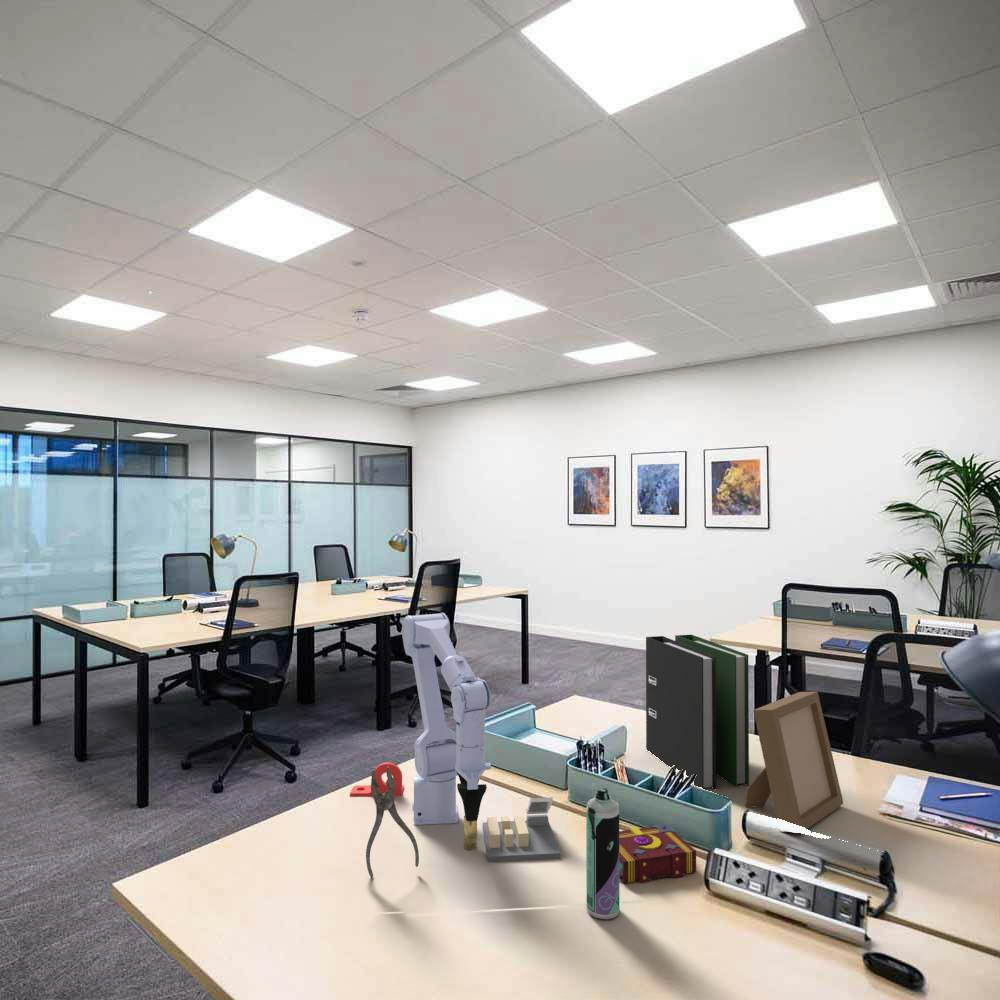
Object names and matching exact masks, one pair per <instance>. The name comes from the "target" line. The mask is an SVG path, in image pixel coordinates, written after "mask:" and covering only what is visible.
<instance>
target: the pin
mask: <svg viewBox="0 0 1000 1000" xmlns="http://www.w3.org/2000/svg"><path fill="white" fill-rule="evenodd" d="M463 849H464V850H466V851H475V850H476V849H478V820H477V821H466V817H465V815H464V816H463Z"/></svg>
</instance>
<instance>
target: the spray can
mask: <svg viewBox="0 0 1000 1000" xmlns="http://www.w3.org/2000/svg"><path fill="white" fill-rule="evenodd" d="M585 811H586V812H585V813H586V815H585V816H586V817H585V818H586V821H585V822H586V825H585V826H586V827H585V828H586V834H585V835H586V850H585V851H586V852H585V853H586V873H585V874H586V887H585V888H586V890H585V891H586V911H587V912H588V914H589V915H591V916H592V917H593V918H596V919H600V920H611V919H614V918H616V917H617V916H619V913H620V878H619V831H620V807H619V803H618V801H616V800H615V799H612V797H611V796H610V795H609V790H608V788H600V789H597V793H596V794H595V795H594V797H592V798H590V799H589V800H588V801H586V810H585Z"/></svg>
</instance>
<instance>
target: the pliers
mask: <svg viewBox="0 0 1000 1000" xmlns="http://www.w3.org/2000/svg"><path fill="white" fill-rule="evenodd" d="M374 771H375V769H374V768H372V769H371V778H370V780H371V781H370V785H371V791H372V794H373V796H372V797H373V800H374V803H375V808H376V809H375V811H376V815H375V821H374V824H373V827H372V829H371V833H370V835H369V839H368V840H367V844H366V850H365V863H366V864H365V865H366V869H367V872H368V875H369V877H370V878H371V879H372V878H374V873H373V869H372V866H371V850H372V846H373V843H374V842H375V841H374V840H375V838H376V836H377V834H378V832H379V829H380V828H381V825H382V821H383V818H384V813H385V811H388V813H389V814H390V817H392V819H393V820H394V822H395V823H396V824H397V825H398V826H399V827H400V829H402V830H403V832H404V833H405V834H406V835H407V837H409V839H410V841H411V843H412V845H413V850H414V856H415V858H414V860H415V862H414V863H415V865H414V866H415V867H416V868H417V867H419V863H420V856H419V855H420V853H419V852H420V851H419V847H418V843H417V840H416V838H415V836H414V834H413V832H412V831H411V829H410V828H409V827H408V826H407V824H406V823H405V821H404V820H403V819H402V817H401V816H400V814H399V813H398V811H397V807H396V803H395V796H394V789H395V782H394V780H393V776H392V774H391V772H390V769H389V766H387V773H386V778H387V779H386V781H385V782H386V786H388V787H389V788H388V790H386V791H385V793H382V792H379V791H378V790H377V789H378V788H379V783H377V781H376V775H375V772H374Z"/></svg>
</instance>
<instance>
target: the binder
mask: <svg viewBox="0 0 1000 1000" xmlns="http://www.w3.org/2000/svg"><path fill="white" fill-rule="evenodd" d="M674 639H675V640H674ZM674 639H671V638H669V637H666V636H663V635H658V636H656V635H655V636H645V689H646V690H645V716H646V717H645V718H646V719H645V730H646V731H645V734H646V735H645V736H646V737H645V740H646V741H645V747H646V749H647V750H648V751H650V752H651V753H652V754H654V755H655V756H656V757H658V758H659V759H660V760H661V761H663V762H664V763H665V764H666V765H665V764H664V763H663V762H662V763H663V764H664V765H665V766H667V765H668V766H670V767H672V766H673V765H677V769H678V770H682V769H685V770H686V775H687V776H691V775H693V774H697V776H696V778H695V780H694V785H695V786H698V787H702V788H705V789H706V788H712V787H713V788H712V789H713V790H714V791H716V790H717V776H718V777H719V778H721V779H722V778H723V779H722V780H723V781H725V780H726V781H725V782H727V784H729V785H731V784H732V785H731V786H733V787H734V786H735V787H734V788H736V787H738V786H737V785H738V784H739V785H740V784H745V786H747V787H748V786H749V785H750V742H749V741H750V733H749V731H750V727H749V725H750V724H749V721H750V720H749V719H750V716H749V710H750V709H749V705H750V704H749V699H750V698H749V697H750V696H749V691H750V690H749V689H750V688H749V684H750V683H749V654H748V653H745V652H741V651H739V650H736V649H733V648H731V647H728V646H725V645H722V644H719V643H717V642H713V641H711V640H709V639H705V638H702V637H700V636H696V635H694V634H678V635H674ZM648 751H647V752H648ZM652 754H651V755H652ZM656 757H655V758H656ZM659 759H658V760H659ZM660 760H659V761H660ZM661 761H660V762H661ZM668 766H667V767H668ZM694 785H693V786H694ZM695 786H694V787H695ZM715 789H716V790H715Z"/></svg>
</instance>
